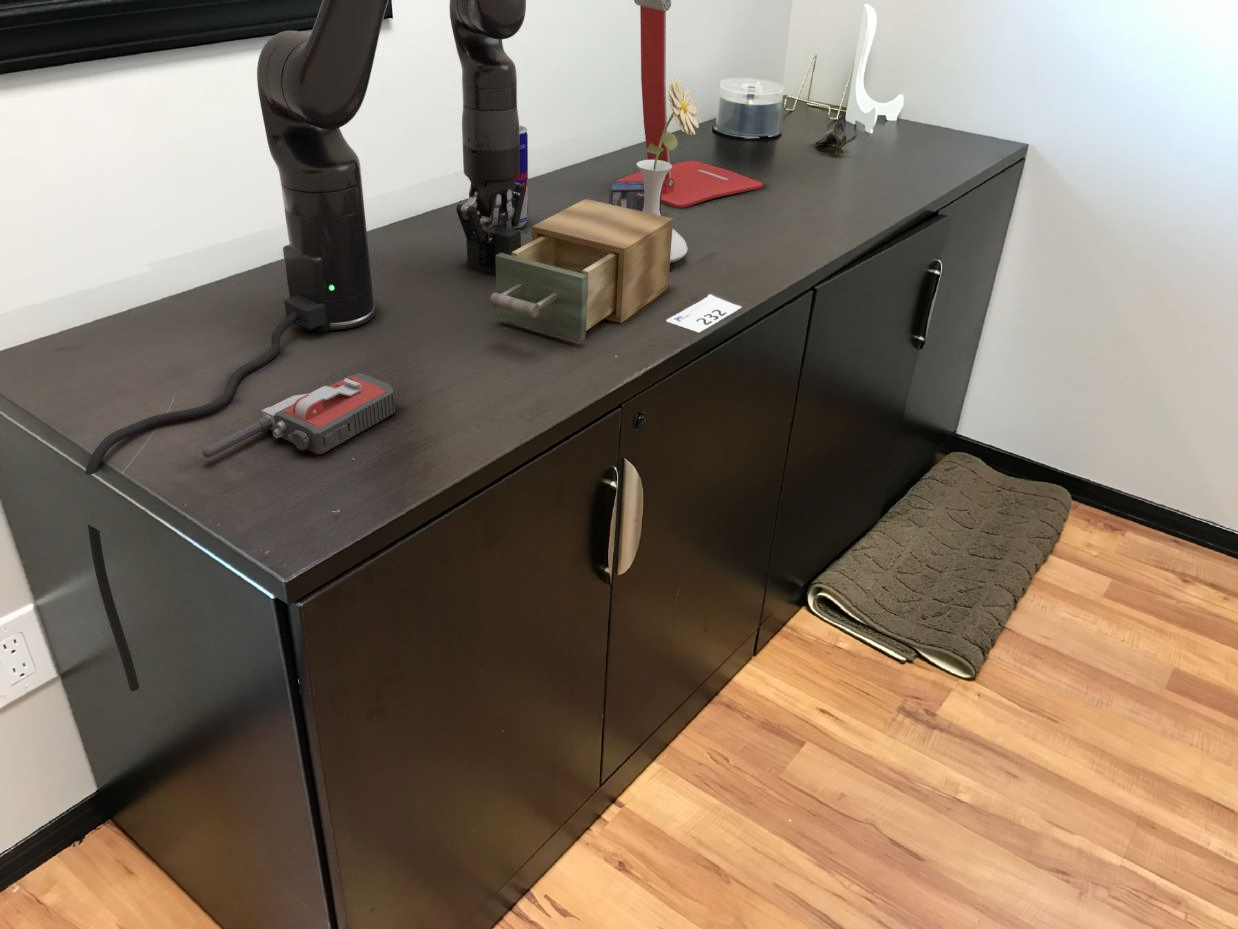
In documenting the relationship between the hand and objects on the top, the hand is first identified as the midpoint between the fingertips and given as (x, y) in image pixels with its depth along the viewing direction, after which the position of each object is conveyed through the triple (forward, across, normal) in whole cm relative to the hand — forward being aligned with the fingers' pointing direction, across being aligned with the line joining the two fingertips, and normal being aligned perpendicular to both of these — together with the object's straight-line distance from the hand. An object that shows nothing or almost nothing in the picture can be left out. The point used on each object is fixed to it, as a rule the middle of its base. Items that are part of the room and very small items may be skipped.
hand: (494, 262), depth 142 cm
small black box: (+1, 0, 0) cm, 1 cm away
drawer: (0, +11, +17) cm, 20 cm away
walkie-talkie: (+1, +48, +10) cm, 49 cm away
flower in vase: (+1, -17, +16) cm, 24 cm away
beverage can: (+1, -17, -8) cm, 19 cm away
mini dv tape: (+1, -30, +6) cm, 31 cm away
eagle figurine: (+1, -90, +20) cm, 92 cm away
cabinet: (+1, -1, +17) cm, 17 cm away
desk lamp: (+1, -55, +7) cm, 55 cm away
